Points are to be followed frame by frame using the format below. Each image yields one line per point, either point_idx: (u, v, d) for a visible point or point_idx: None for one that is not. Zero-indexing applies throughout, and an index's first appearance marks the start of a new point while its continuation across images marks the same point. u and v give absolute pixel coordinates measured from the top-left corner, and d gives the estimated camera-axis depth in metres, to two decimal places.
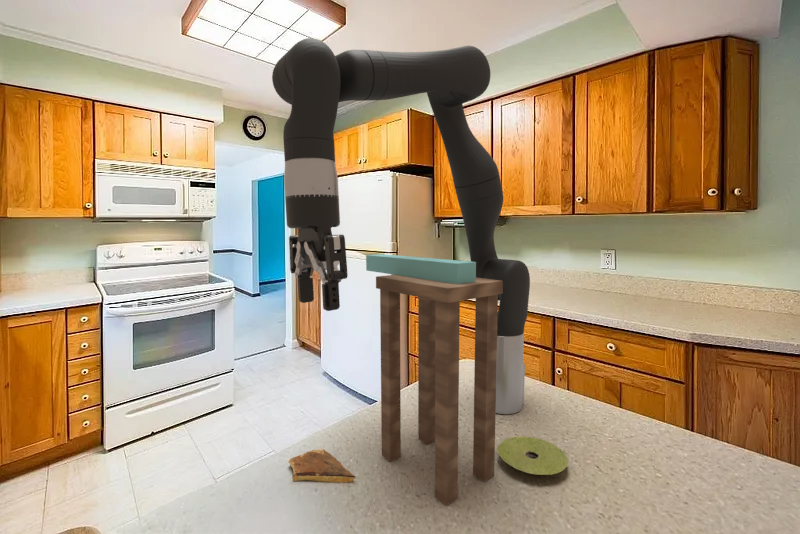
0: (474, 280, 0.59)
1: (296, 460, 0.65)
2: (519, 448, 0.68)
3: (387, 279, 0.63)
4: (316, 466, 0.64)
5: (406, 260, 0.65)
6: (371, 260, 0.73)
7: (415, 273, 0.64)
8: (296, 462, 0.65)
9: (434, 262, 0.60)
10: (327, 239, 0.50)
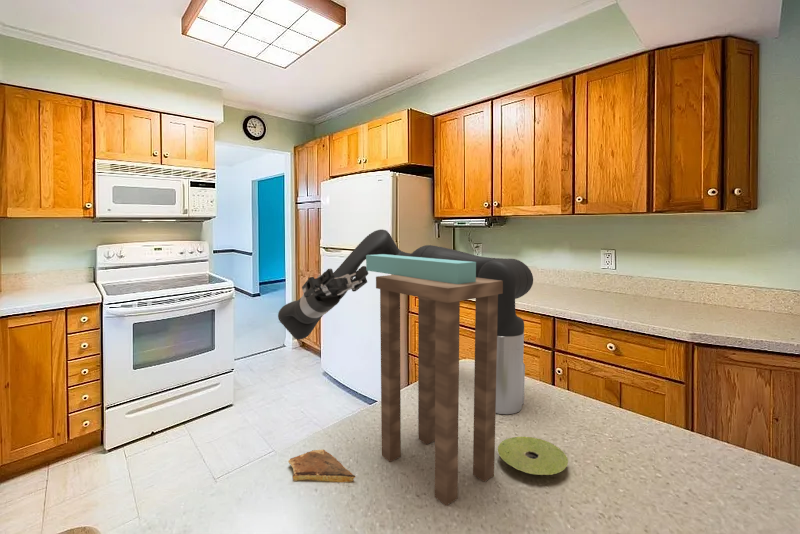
0: (474, 280, 0.59)
1: (297, 460, 0.65)
2: (519, 448, 0.68)
3: (387, 279, 0.63)
4: (316, 466, 0.64)
5: (406, 260, 0.65)
6: (371, 260, 0.73)
7: (415, 273, 0.64)
8: (296, 462, 0.65)
9: (434, 262, 0.60)
10: (305, 296, 0.86)
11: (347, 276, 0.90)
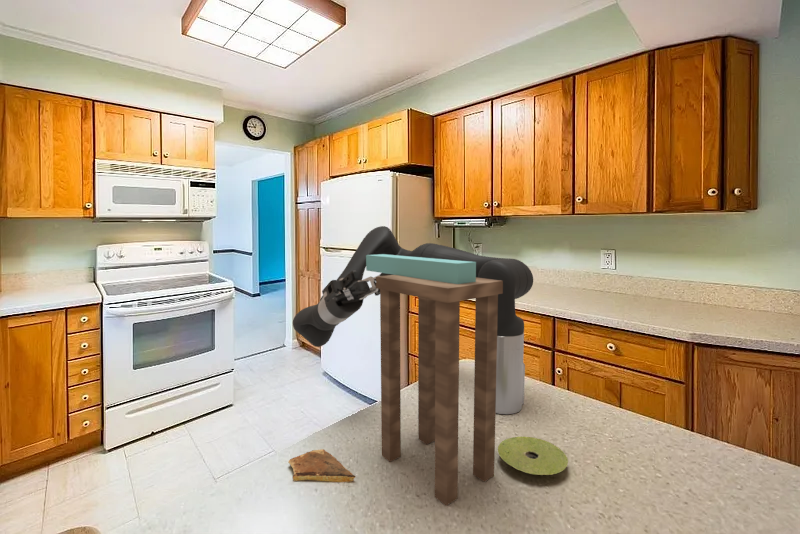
0: (474, 280, 0.59)
1: (297, 461, 0.65)
2: (519, 448, 0.68)
3: (387, 279, 0.63)
4: (316, 466, 0.64)
5: (406, 260, 0.65)
6: (371, 260, 0.73)
7: (415, 273, 0.64)
8: (296, 462, 0.65)
9: (434, 262, 0.60)
10: (326, 301, 0.79)
11: (370, 279, 0.83)
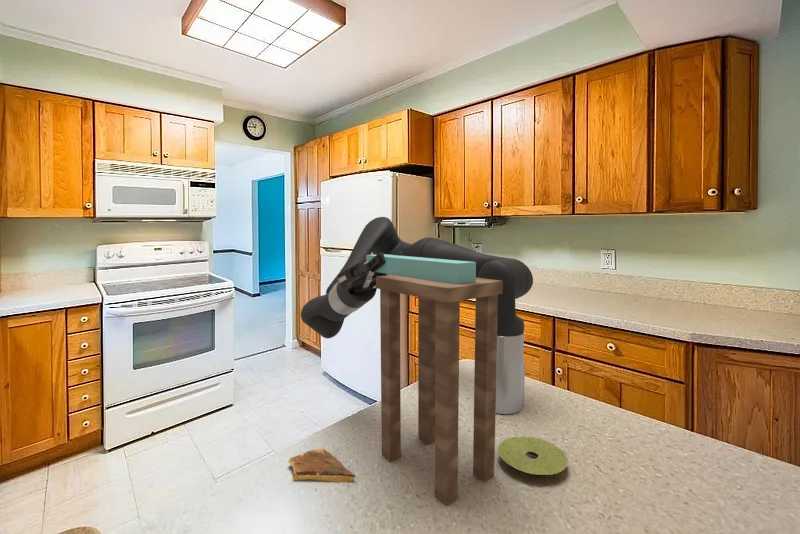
0: (474, 280, 0.59)
1: (297, 460, 0.65)
2: (519, 448, 0.68)
3: (387, 279, 0.63)
4: (316, 466, 0.64)
5: (406, 260, 0.65)
6: None
7: (415, 273, 0.64)
8: (296, 461, 0.65)
9: (434, 262, 0.60)
10: (342, 286, 0.74)
11: None
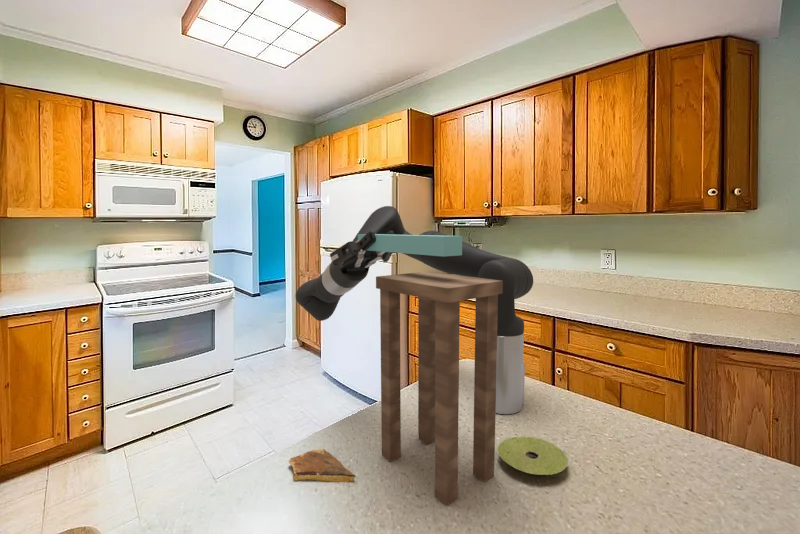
0: (460, 253, 0.60)
1: (297, 460, 0.65)
2: (519, 448, 0.68)
3: (387, 279, 0.63)
4: (317, 466, 0.64)
5: (395, 236, 0.67)
6: None
7: (404, 248, 0.65)
8: (296, 462, 0.65)
9: (422, 236, 0.62)
10: (334, 264, 0.76)
11: None
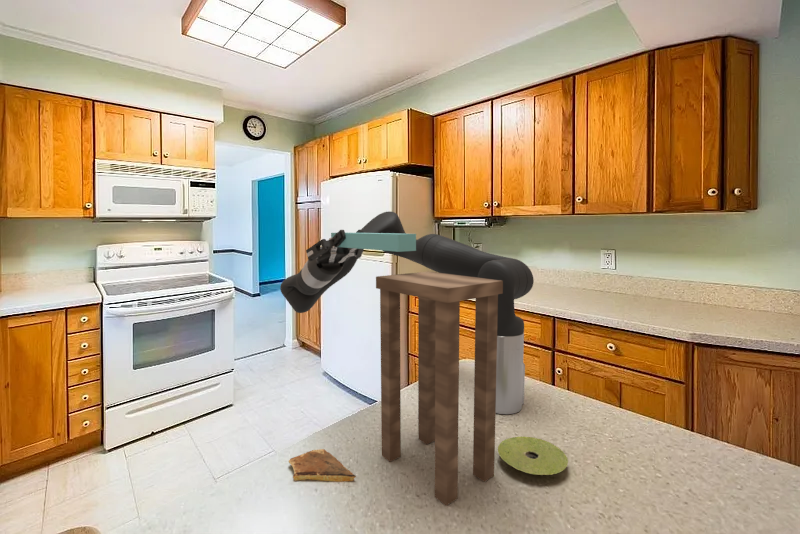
0: (414, 249, 0.69)
1: (297, 460, 0.65)
2: (519, 448, 0.68)
3: (387, 279, 0.63)
4: (317, 466, 0.64)
5: (361, 234, 0.75)
6: None
7: (367, 245, 0.74)
8: (296, 462, 0.65)
9: (381, 234, 0.70)
10: (310, 259, 0.84)
11: None
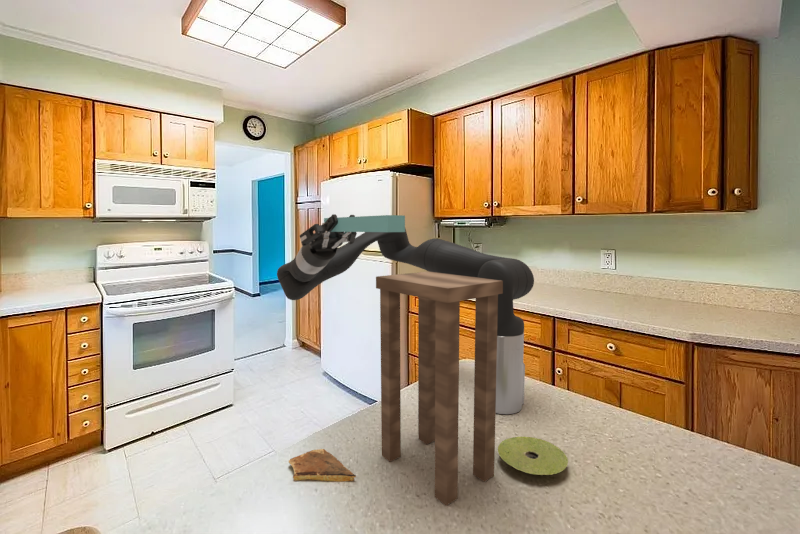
0: (403, 230, 0.71)
1: (297, 460, 0.65)
2: (519, 448, 0.68)
3: (387, 279, 0.63)
4: (317, 466, 0.64)
5: (352, 218, 0.78)
6: None
7: (358, 228, 0.76)
8: (296, 462, 0.65)
9: (371, 216, 0.72)
10: (303, 244, 0.86)
11: None
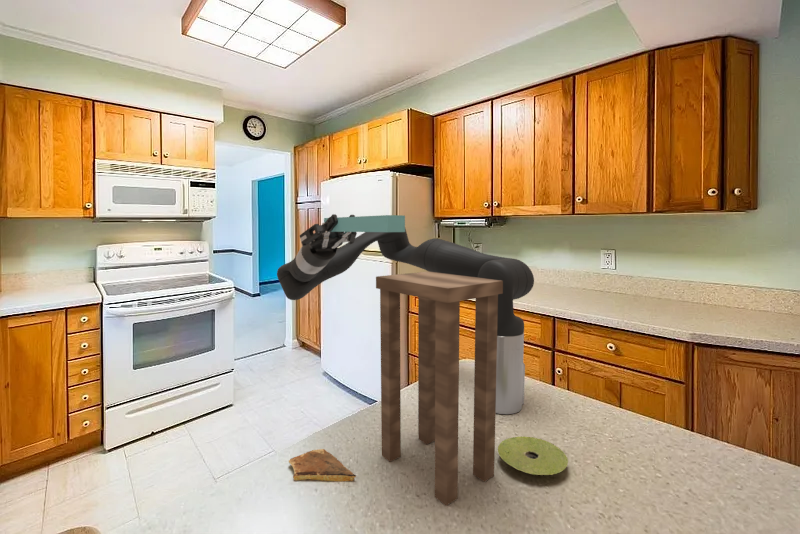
0: (403, 230, 0.71)
1: (297, 460, 0.65)
2: (519, 448, 0.68)
3: (387, 279, 0.63)
4: (317, 466, 0.64)
5: (352, 218, 0.78)
6: None
7: (358, 228, 0.76)
8: (296, 462, 0.65)
9: (371, 216, 0.72)
10: (303, 244, 0.86)
11: None
